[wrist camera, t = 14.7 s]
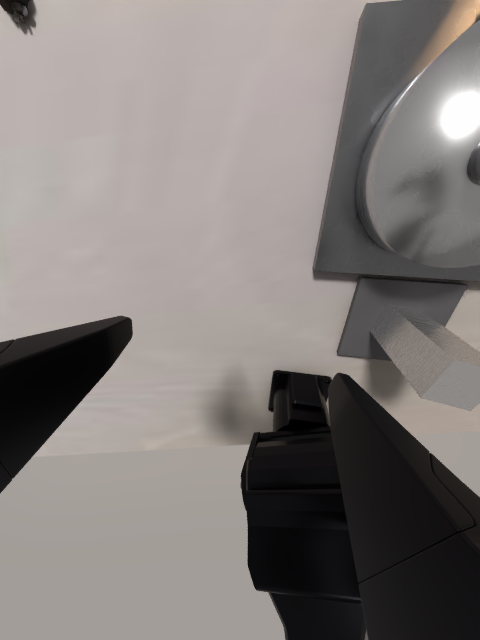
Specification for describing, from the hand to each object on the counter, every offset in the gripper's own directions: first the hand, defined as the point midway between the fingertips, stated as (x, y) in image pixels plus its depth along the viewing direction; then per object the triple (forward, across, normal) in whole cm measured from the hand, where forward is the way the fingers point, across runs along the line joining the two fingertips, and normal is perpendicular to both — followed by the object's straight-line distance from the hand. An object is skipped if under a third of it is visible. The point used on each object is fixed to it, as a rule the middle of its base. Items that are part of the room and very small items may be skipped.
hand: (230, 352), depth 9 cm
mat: (+12, -13, +1) cm, 18 cm away
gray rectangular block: (+12, -13, +1) cm, 17 cm away
